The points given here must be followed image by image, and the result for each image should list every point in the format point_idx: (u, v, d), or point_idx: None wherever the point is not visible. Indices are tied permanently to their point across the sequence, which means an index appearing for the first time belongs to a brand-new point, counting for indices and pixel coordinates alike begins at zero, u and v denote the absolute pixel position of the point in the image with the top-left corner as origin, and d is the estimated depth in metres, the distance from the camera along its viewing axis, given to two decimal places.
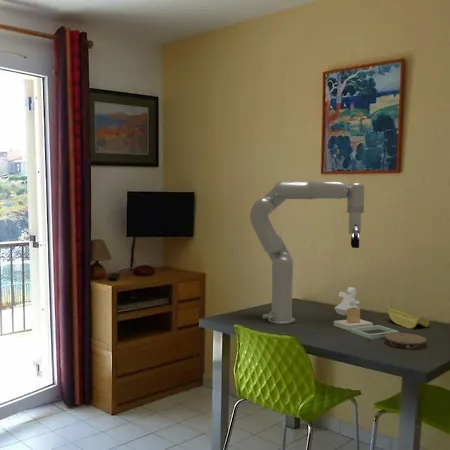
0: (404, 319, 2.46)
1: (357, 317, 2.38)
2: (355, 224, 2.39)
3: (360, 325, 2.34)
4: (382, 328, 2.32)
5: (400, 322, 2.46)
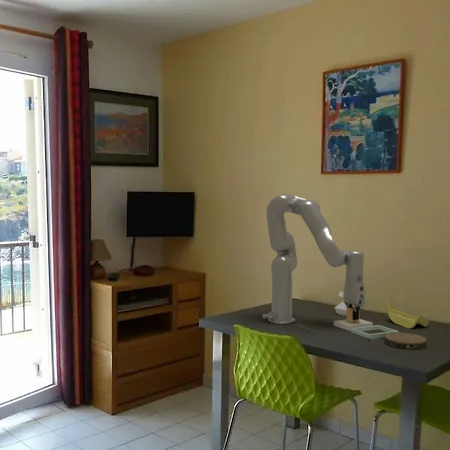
0: (403, 319, 2.46)
1: None
2: None
3: (360, 325, 2.34)
4: (382, 328, 2.32)
5: (399, 322, 2.47)
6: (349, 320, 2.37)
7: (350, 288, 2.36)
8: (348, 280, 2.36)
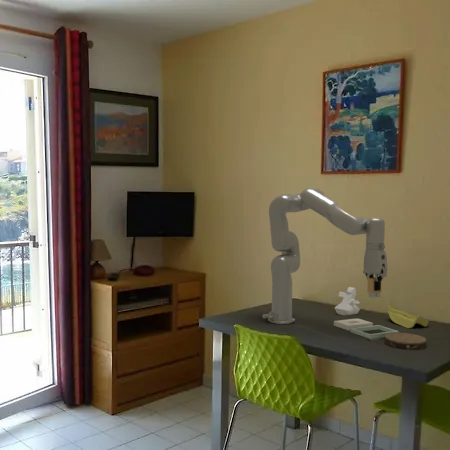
0: (403, 319, 2.47)
1: None
2: None
3: (360, 325, 2.34)
4: (382, 328, 2.32)
5: (399, 321, 2.47)
6: (370, 291, 2.25)
7: (371, 257, 2.24)
8: (369, 249, 2.24)
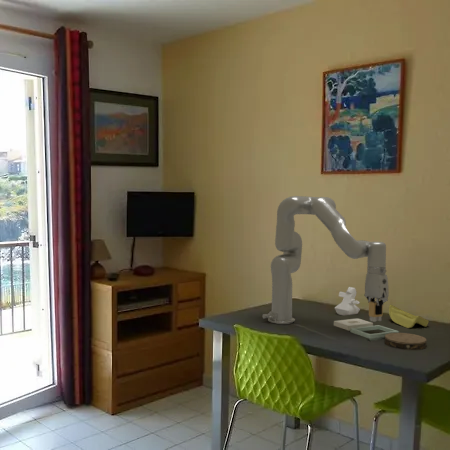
0: (403, 318, 2.47)
1: None
2: None
3: (360, 325, 2.34)
4: (382, 328, 2.32)
5: (399, 321, 2.48)
6: (372, 315, 2.24)
7: (372, 281, 2.24)
8: (370, 273, 2.23)
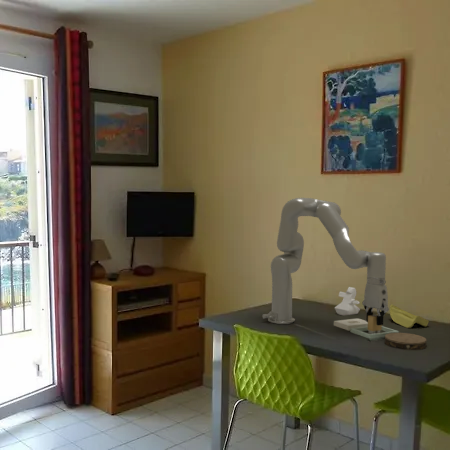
0: (403, 318, 2.47)
1: (379, 325, 2.26)
2: None
3: (360, 325, 2.34)
4: (382, 328, 2.32)
5: (399, 321, 2.48)
6: (371, 329, 2.25)
7: (372, 292, 2.24)
8: (369, 283, 2.24)
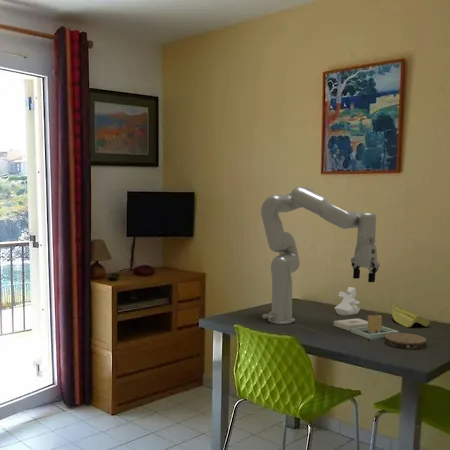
0: (404, 318, 2.48)
1: (379, 325, 2.26)
2: None
3: (360, 325, 2.34)
4: (382, 328, 2.32)
5: (400, 321, 2.49)
6: (370, 329, 2.25)
7: (361, 251, 2.28)
8: (359, 242, 2.27)
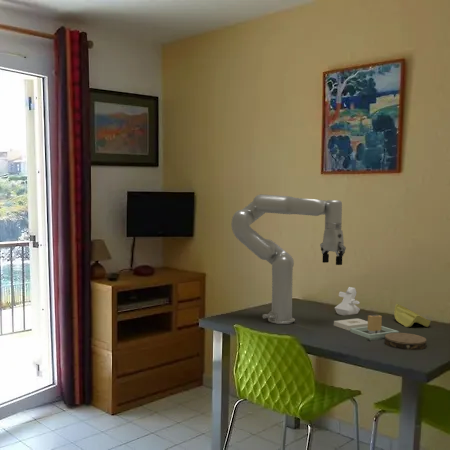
0: (405, 318, 2.49)
1: (379, 325, 2.26)
2: None
3: (360, 325, 2.34)
4: (382, 328, 2.32)
5: (401, 320, 2.50)
6: (370, 329, 2.25)
7: (329, 236, 2.43)
8: (327, 228, 2.42)
